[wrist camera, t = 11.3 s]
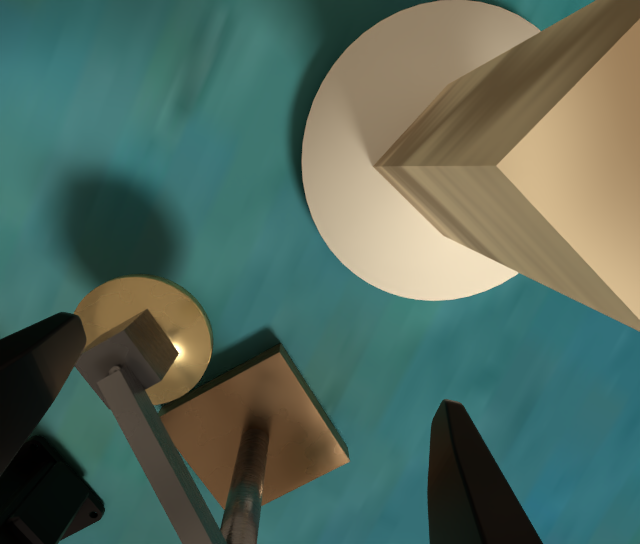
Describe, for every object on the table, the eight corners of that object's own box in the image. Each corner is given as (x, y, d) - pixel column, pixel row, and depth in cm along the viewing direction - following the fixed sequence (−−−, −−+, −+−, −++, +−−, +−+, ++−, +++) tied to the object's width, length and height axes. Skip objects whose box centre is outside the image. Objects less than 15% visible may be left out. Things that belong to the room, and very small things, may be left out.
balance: (297, 585, 28) (293, 905, 16) (78, 297, 22) (-187, 452, 10) (403, 534, 27) (483, 828, 15) (205, 224, 21) (82, 297, 9)
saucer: (379, 336, 23) (383, 345, 22) (248, 106, 20) (245, 102, 19) (609, 215, 22) (625, 217, 21) (511, -52, 19) (525, -66, 18)
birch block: (442, 235, 21) (658, 340, 8) (372, 166, 20) (496, 165, 7) (516, 160, 20) (881, 148, 7) (447, 84, 19) (733, -78, 6)
